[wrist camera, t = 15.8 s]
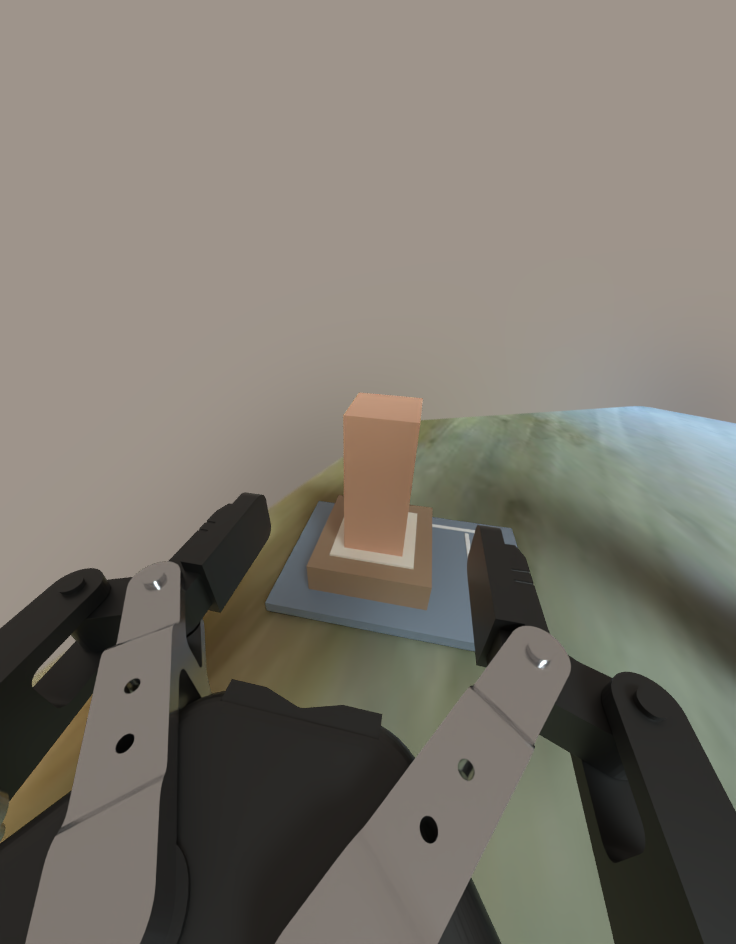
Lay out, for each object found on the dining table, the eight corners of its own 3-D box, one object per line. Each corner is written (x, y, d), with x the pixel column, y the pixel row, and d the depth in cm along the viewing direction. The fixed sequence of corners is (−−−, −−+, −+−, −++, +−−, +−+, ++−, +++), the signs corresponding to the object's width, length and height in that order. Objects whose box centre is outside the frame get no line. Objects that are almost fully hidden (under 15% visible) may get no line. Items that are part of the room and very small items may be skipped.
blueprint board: (509, 535, 34) (519, 506, 32) (548, 665, 23) (568, 634, 21) (319, 507, 37) (317, 479, 35) (266, 610, 26) (259, 578, 23)
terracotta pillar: (406, 518, 30) (422, 398, 24) (402, 556, 26) (420, 423, 20) (356, 511, 31) (358, 392, 24) (344, 547, 26) (343, 415, 20)
